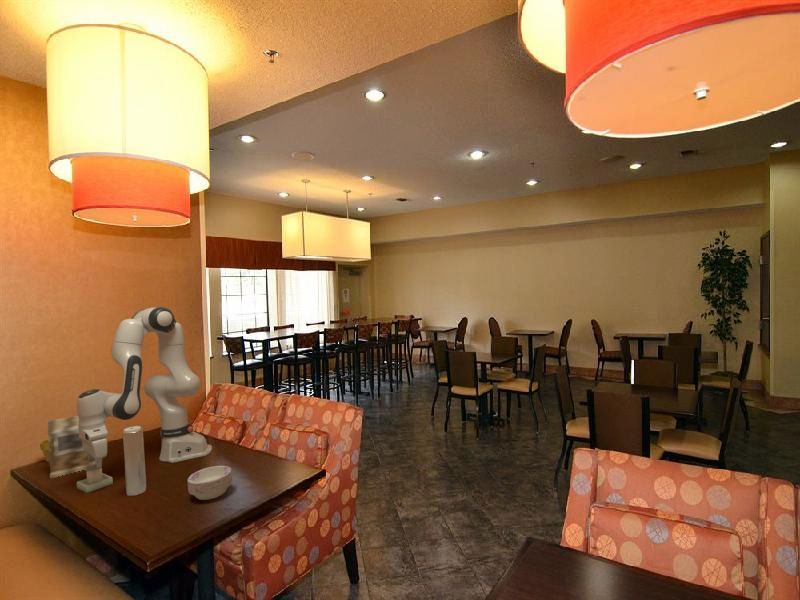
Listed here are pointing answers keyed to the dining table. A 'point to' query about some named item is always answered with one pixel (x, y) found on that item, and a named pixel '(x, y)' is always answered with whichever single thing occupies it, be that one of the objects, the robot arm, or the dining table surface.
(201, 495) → the paper bowls
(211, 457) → the dining table surface
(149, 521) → the dining table surface
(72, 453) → the plate
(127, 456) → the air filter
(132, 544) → the dining table surface
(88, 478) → the cartridge
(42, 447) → the plant pot
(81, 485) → the service tray
